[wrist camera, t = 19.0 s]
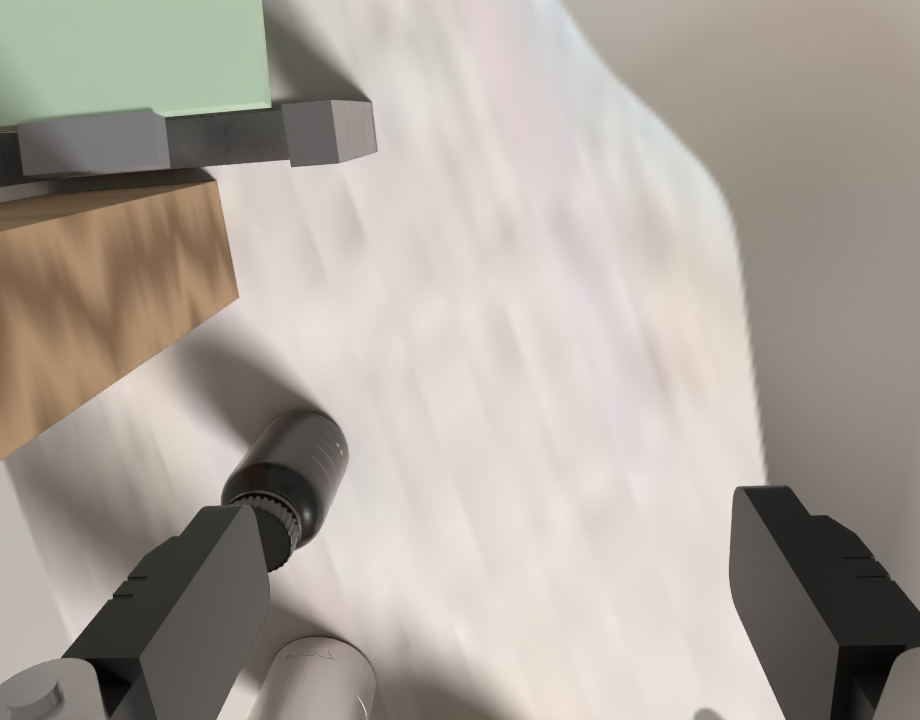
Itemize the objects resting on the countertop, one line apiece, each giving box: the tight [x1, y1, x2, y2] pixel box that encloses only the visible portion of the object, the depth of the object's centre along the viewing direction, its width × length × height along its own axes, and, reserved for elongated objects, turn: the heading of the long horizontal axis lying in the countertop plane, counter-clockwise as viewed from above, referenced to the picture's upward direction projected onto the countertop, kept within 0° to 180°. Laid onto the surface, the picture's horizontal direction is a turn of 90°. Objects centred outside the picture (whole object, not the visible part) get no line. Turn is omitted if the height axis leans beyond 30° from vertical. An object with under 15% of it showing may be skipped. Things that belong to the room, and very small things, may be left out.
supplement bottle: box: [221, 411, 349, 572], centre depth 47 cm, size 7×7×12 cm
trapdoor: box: [0, 0, 272, 179], centre depth 34 cm, size 14×18×1 cm
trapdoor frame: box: [0, 100, 377, 187], centre depth 40 cm, size 3×24×10 cm, turn 95°
